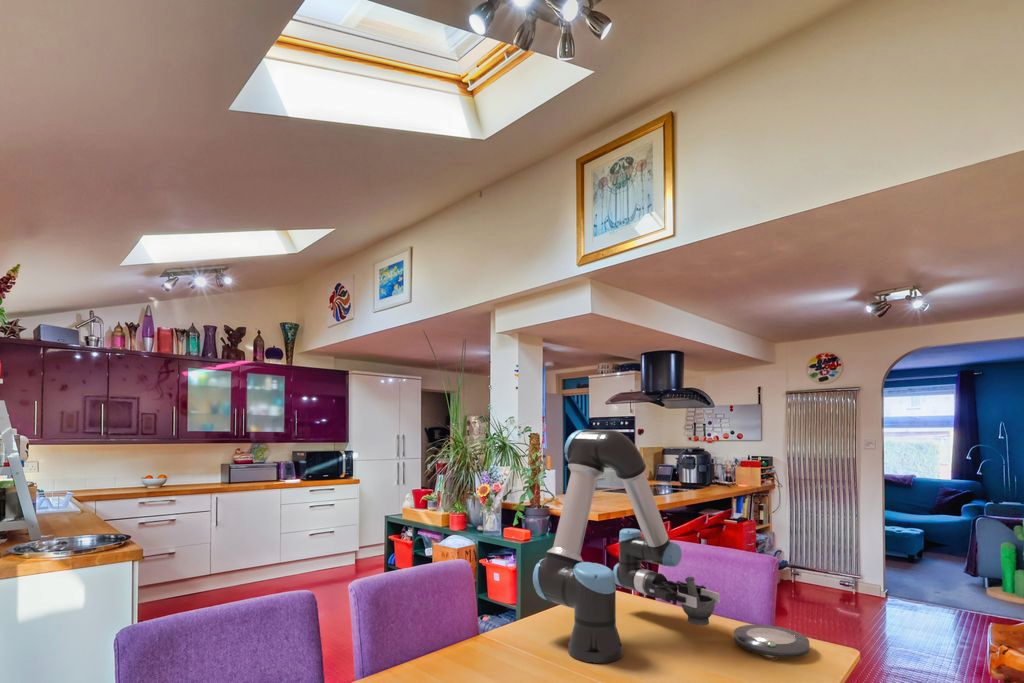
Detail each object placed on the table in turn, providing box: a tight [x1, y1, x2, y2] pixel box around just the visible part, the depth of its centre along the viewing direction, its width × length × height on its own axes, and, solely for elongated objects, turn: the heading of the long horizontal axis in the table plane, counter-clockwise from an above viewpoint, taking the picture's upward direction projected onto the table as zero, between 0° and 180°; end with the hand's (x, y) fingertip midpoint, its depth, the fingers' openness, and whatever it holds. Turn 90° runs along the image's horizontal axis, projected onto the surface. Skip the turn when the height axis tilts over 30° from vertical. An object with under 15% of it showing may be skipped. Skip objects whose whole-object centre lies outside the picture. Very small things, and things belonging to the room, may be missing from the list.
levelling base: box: [733, 624, 811, 660], centre depth 174 cm, size 20×20×4 cm
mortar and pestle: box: [681, 576, 716, 627], centre depth 181 cm, size 11×9×12 cm
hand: (707, 600), depth 178 cm, fingers closed on mortar and pestle, 10 cm apart
